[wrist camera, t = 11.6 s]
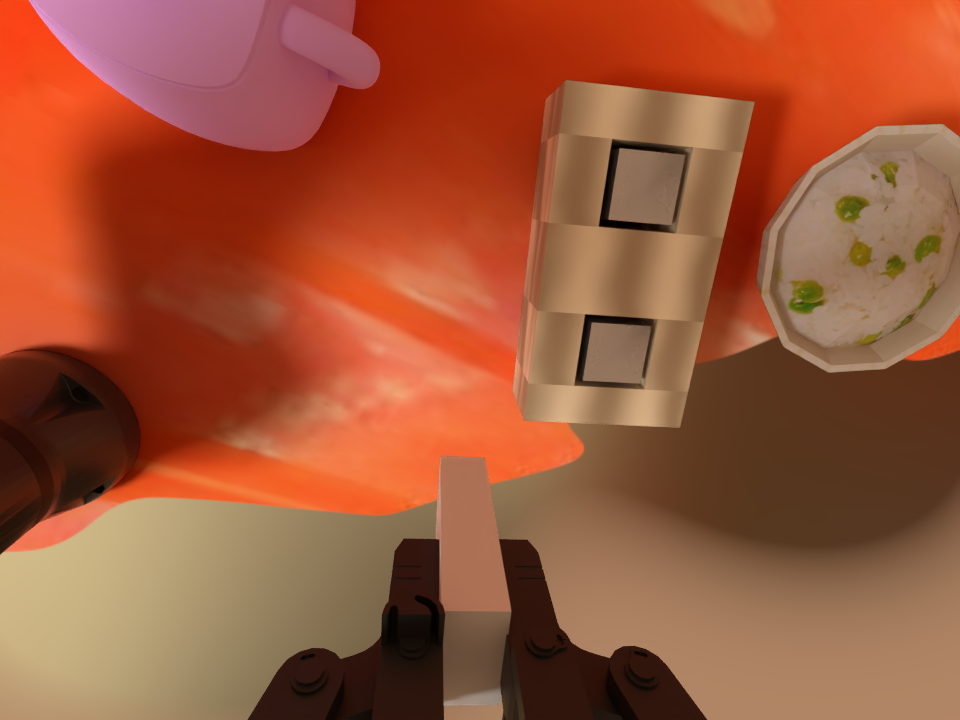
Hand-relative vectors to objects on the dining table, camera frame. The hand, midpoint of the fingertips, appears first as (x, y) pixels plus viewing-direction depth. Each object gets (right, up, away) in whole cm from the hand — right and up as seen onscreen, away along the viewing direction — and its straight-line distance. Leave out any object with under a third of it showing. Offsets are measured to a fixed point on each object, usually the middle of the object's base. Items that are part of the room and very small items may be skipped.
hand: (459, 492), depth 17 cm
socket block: (+12, +13, +29) cm, 34 cm away
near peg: (+13, +19, +26) cm, 35 cm away
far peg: (+11, +7, +30) cm, 33 cm away
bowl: (+31, +15, +30) cm, 46 cm away
